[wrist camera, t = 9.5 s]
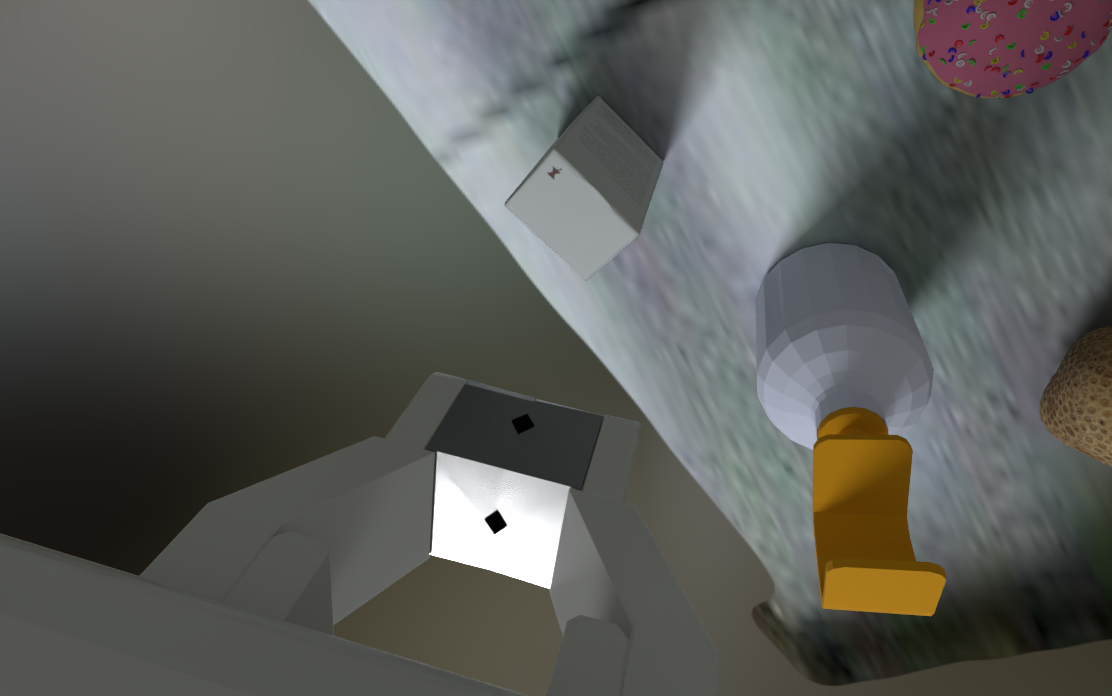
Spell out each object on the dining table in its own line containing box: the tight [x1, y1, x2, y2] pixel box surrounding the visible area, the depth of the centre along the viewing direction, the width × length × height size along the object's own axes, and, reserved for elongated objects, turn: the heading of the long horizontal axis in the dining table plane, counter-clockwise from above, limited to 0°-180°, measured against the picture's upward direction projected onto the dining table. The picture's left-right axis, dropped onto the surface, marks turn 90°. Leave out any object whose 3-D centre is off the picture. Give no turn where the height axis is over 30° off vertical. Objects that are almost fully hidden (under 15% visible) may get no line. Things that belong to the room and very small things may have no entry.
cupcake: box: [913, 0, 1112, 98], centre depth 32 cm, size 9×8×12 cm
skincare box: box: [505, 96, 663, 281], centre depth 40 cm, size 6×4×12 cm
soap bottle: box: [756, 243, 946, 616], centre depth 37 cm, size 9×9×25 cm
